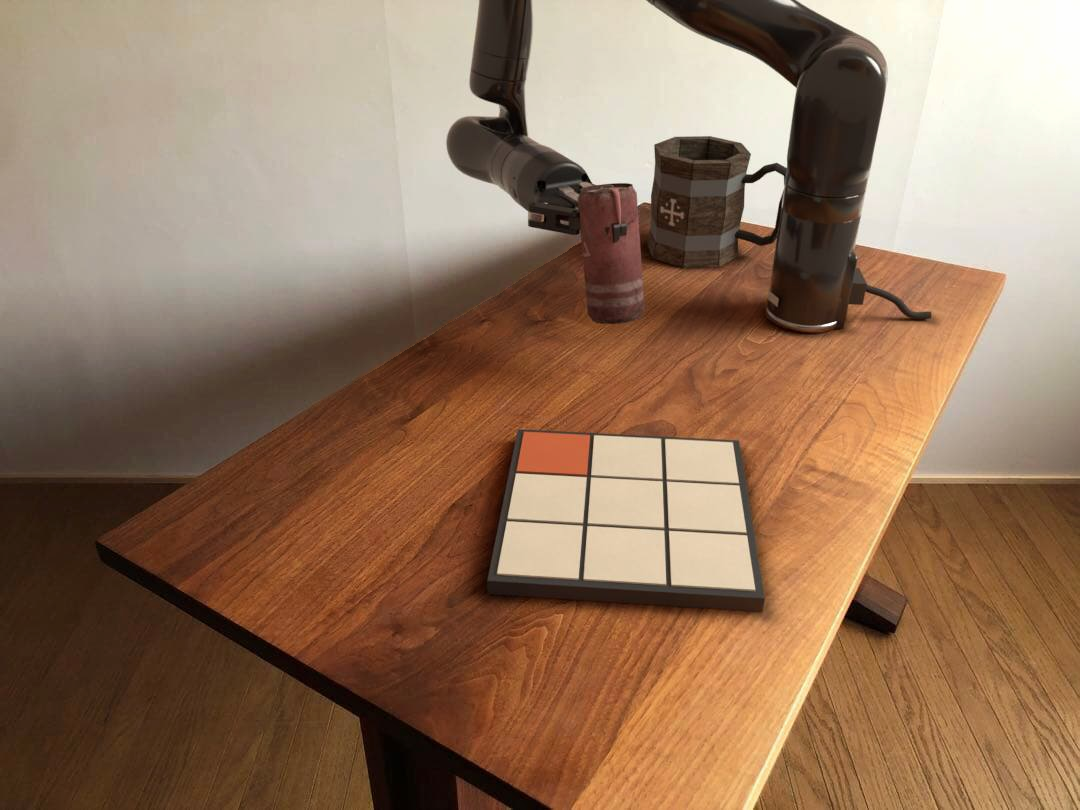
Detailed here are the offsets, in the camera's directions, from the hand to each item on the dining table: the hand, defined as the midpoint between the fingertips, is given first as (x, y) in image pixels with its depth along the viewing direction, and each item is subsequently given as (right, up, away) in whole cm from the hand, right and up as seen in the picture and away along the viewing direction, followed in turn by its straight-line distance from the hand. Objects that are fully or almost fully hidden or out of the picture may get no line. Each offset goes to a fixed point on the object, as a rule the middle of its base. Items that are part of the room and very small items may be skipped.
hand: (620, 234), depth 93 cm
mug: (+17, +5, +41) cm, 45 cm away
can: (0, -8, +6) cm, 10 cm away
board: (-1, -27, -10) cm, 29 cm away
